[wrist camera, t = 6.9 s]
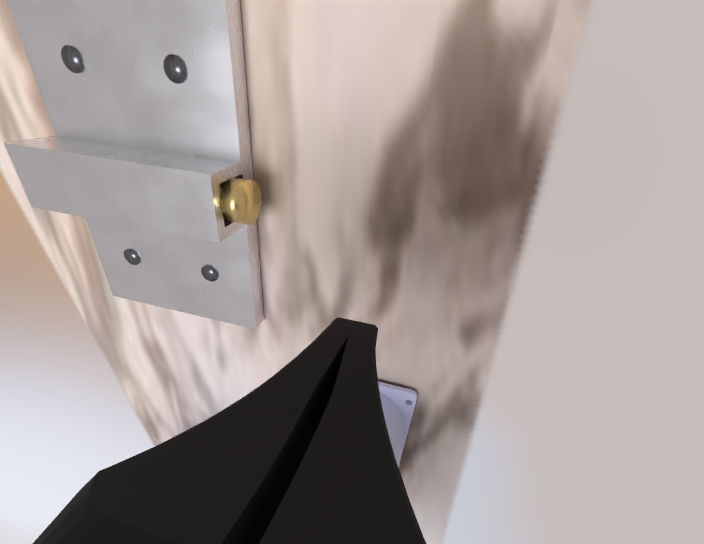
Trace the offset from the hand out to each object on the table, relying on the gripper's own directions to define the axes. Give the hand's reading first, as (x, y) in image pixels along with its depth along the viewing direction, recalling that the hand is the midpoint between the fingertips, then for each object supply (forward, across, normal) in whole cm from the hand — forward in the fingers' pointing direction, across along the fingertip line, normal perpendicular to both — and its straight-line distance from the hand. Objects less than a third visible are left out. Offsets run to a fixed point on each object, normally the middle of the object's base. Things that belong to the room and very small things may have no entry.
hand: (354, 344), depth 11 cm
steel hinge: (+9, +14, -2) cm, 17 cm away
